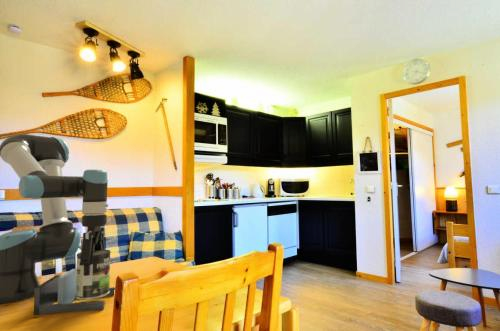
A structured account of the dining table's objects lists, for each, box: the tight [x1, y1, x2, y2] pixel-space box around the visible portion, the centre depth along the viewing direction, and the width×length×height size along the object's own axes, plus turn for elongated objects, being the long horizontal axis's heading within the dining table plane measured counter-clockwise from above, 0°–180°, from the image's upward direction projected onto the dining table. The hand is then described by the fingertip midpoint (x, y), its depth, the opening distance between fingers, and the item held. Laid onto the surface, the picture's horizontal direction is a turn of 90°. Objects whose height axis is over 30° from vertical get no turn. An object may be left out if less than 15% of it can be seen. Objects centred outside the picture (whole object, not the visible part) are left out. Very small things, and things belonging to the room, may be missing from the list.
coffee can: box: [75, 249, 112, 301], centre depth 101 cm, size 10×10×14 cm
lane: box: [33, 274, 116, 316], centre depth 100 cm, size 20×14×8 cm
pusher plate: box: [57, 268, 77, 304], centre depth 99 cm, size 2×11×10 cm, turn 10°
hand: (93, 280), depth 101 cm, fingers closed on coffee can, 10 cm apart
